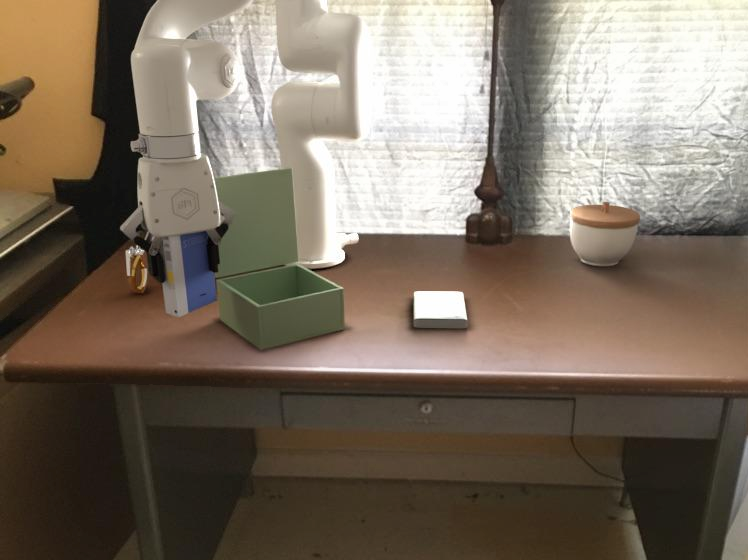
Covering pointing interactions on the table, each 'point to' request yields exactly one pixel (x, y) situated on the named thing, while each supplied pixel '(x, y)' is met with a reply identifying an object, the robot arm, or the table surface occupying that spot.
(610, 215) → the lidded bowl
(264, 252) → the chest lid
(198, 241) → the walkman
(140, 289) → the ring
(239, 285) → the chest
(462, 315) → the hard drive
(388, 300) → the table surface
